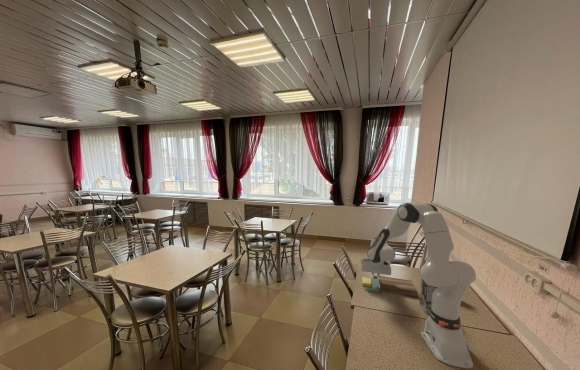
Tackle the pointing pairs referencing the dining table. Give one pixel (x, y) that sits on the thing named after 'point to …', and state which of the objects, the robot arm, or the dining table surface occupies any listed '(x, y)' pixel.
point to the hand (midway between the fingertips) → (375, 278)
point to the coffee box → (426, 296)
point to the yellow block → (366, 281)
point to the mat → (373, 286)
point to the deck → (397, 286)
